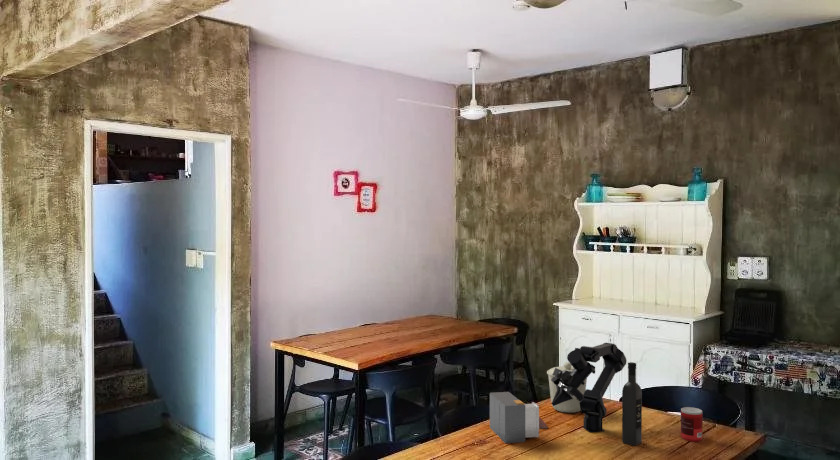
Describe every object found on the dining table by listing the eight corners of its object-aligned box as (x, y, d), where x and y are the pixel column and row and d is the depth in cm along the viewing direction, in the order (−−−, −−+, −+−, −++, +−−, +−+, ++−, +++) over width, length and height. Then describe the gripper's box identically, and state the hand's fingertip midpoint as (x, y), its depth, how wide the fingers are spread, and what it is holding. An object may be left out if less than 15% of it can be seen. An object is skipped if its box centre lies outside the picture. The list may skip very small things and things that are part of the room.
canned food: (701, 436, 241) (701, 408, 241) (703, 443, 234) (703, 413, 234) (680, 434, 244) (680, 406, 244) (681, 440, 236) (681, 411, 236)
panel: (533, 432, 242) (533, 402, 242) (538, 437, 237) (538, 406, 236) (514, 433, 240) (514, 403, 240) (519, 438, 235) (519, 407, 235)
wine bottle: (642, 443, 234) (642, 363, 234) (634, 446, 230) (635, 365, 230) (628, 439, 238) (629, 360, 238) (620, 442, 234) (621, 362, 234)
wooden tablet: (549, 430, 250) (549, 426, 250) (524, 430, 249) (524, 426, 249) (534, 411, 277) (534, 407, 277) (512, 411, 276) (512, 407, 276)
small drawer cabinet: (510, 426, 254) (510, 391, 253) (527, 441, 235) (527, 403, 235) (489, 427, 252) (489, 392, 252) (505, 443, 233) (505, 405, 233)
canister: (551, 402, 288) (551, 356, 288) (591, 406, 281) (591, 360, 281) (542, 412, 272) (542, 364, 272) (585, 417, 265) (585, 368, 265)
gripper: (555, 356, 251) (529, 384, 248) (576, 366, 232) (548, 397, 230) (573, 374, 252) (548, 403, 250) (595, 386, 234) (568, 417, 232)
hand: (552, 404), depth 240 cm, fingers closed
